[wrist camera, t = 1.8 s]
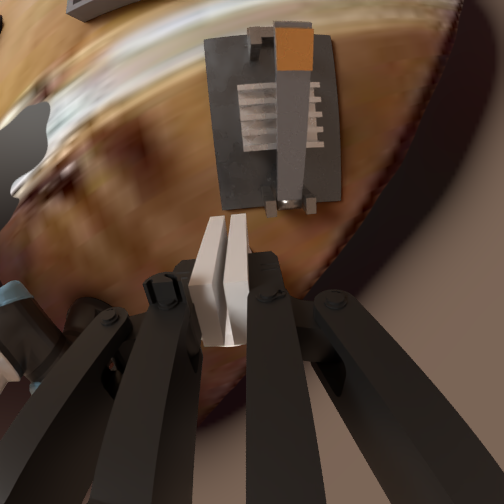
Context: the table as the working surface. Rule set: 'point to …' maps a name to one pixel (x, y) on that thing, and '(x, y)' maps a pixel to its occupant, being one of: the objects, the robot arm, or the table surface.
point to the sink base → (265, 161)
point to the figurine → (0, 23)
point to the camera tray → (93, 7)
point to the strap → (292, 107)
